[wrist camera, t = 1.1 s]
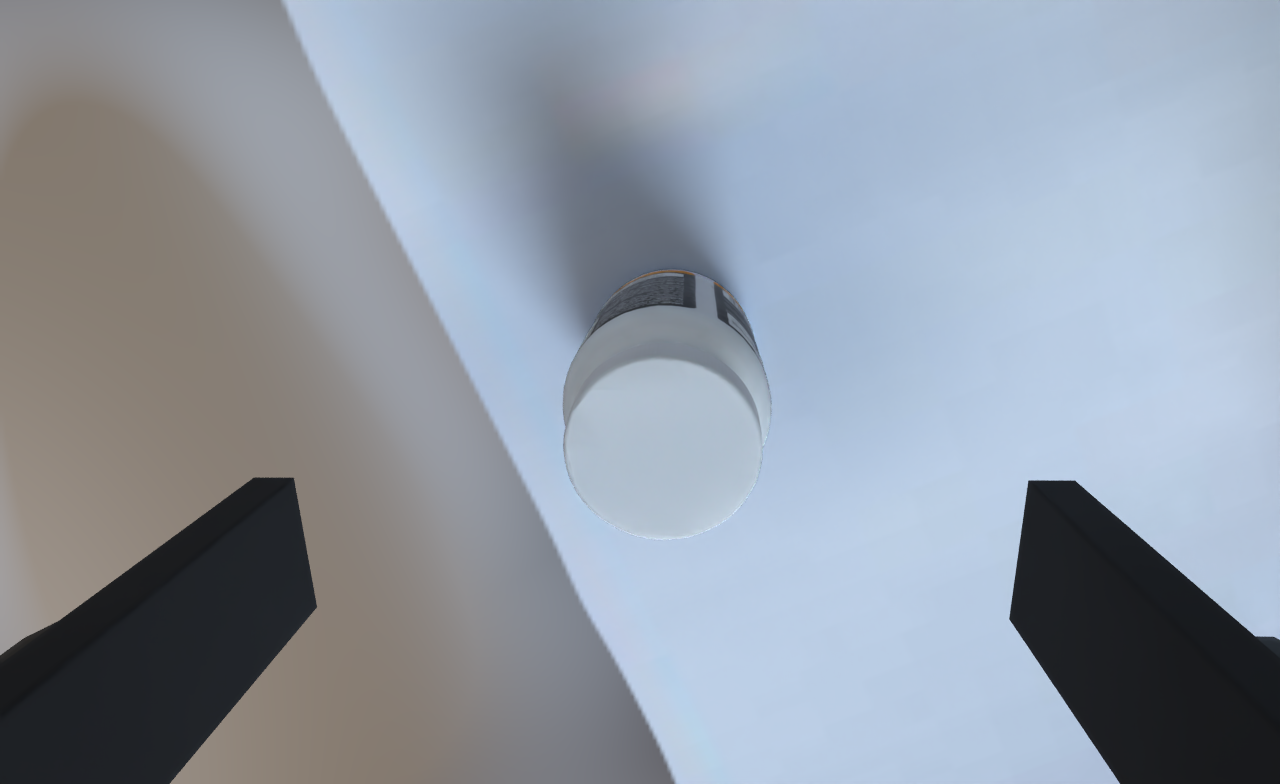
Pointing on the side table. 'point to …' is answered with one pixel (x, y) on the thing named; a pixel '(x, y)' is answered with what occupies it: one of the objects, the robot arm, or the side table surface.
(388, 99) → the side table surface
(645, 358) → the pill bottle
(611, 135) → the side table surface
